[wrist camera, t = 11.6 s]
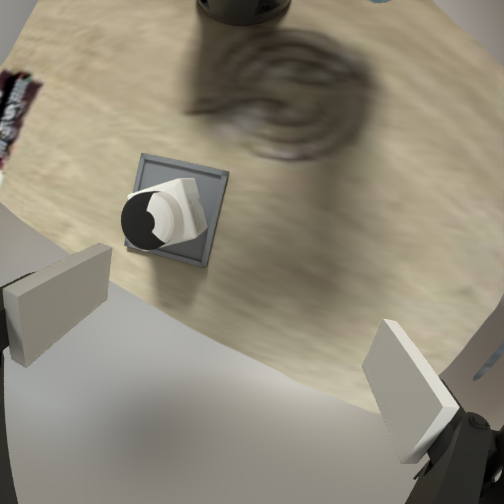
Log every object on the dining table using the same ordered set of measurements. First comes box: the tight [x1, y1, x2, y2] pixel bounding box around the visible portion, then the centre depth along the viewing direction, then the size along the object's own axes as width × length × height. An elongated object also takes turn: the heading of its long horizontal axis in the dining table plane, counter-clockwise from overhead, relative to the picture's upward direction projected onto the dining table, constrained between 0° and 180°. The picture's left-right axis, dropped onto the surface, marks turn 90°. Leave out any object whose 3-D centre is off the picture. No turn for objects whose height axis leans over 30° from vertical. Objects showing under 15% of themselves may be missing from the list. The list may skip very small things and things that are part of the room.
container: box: [121, 178, 208, 251], centre depth 39 cm, size 8×8×13 cm
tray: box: [124, 153, 229, 268], centre depth 45 cm, size 14×14×1 cm
